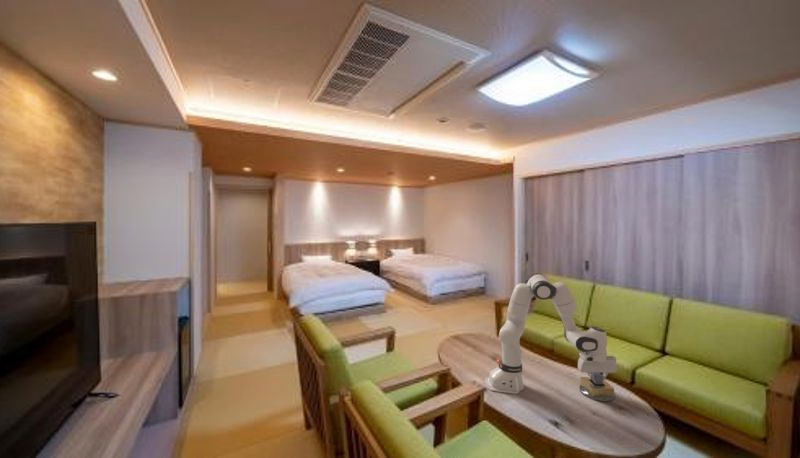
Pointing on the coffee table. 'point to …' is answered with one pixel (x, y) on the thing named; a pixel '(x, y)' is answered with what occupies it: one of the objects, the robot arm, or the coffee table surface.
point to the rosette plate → (597, 390)
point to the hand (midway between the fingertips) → (596, 379)
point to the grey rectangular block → (597, 379)
